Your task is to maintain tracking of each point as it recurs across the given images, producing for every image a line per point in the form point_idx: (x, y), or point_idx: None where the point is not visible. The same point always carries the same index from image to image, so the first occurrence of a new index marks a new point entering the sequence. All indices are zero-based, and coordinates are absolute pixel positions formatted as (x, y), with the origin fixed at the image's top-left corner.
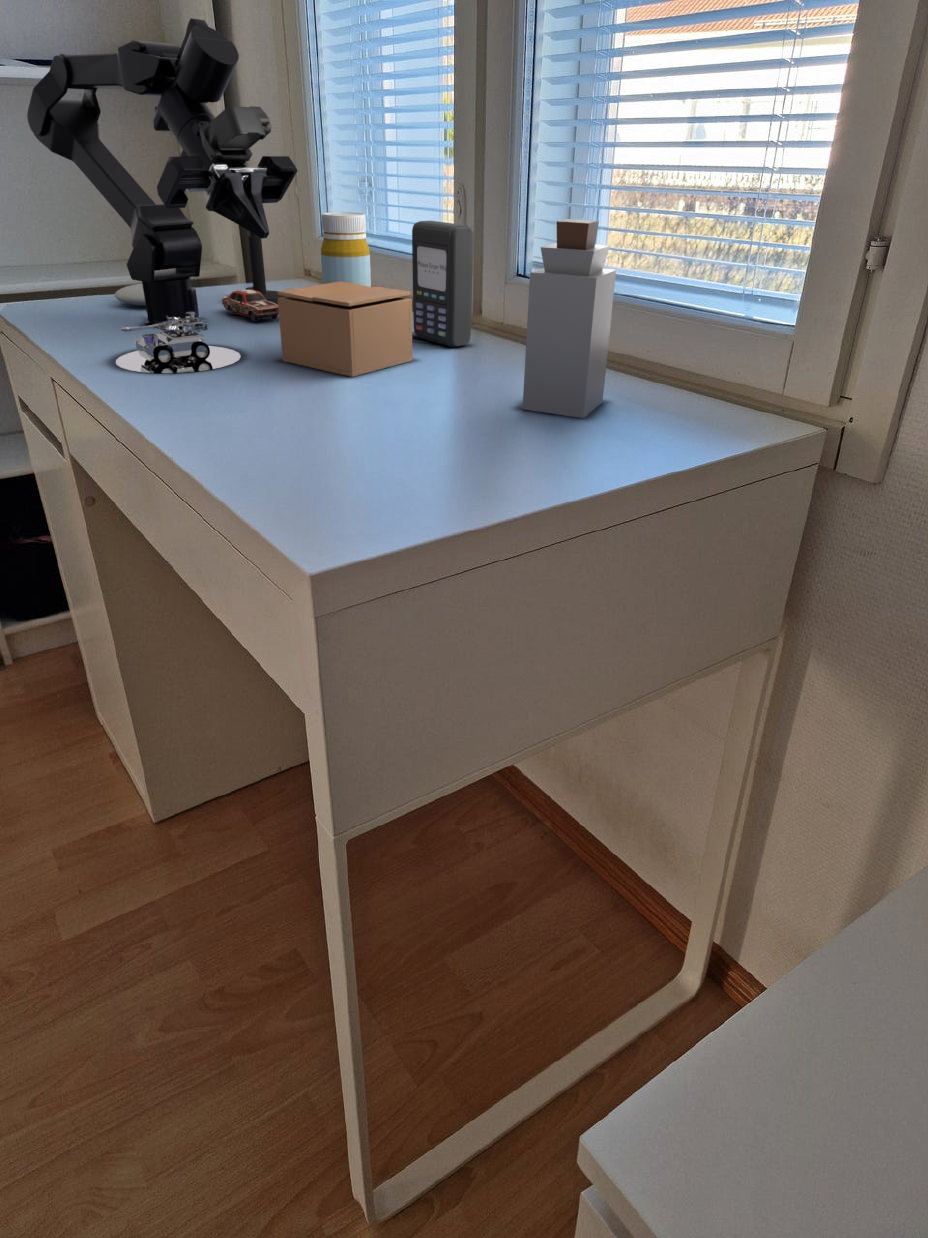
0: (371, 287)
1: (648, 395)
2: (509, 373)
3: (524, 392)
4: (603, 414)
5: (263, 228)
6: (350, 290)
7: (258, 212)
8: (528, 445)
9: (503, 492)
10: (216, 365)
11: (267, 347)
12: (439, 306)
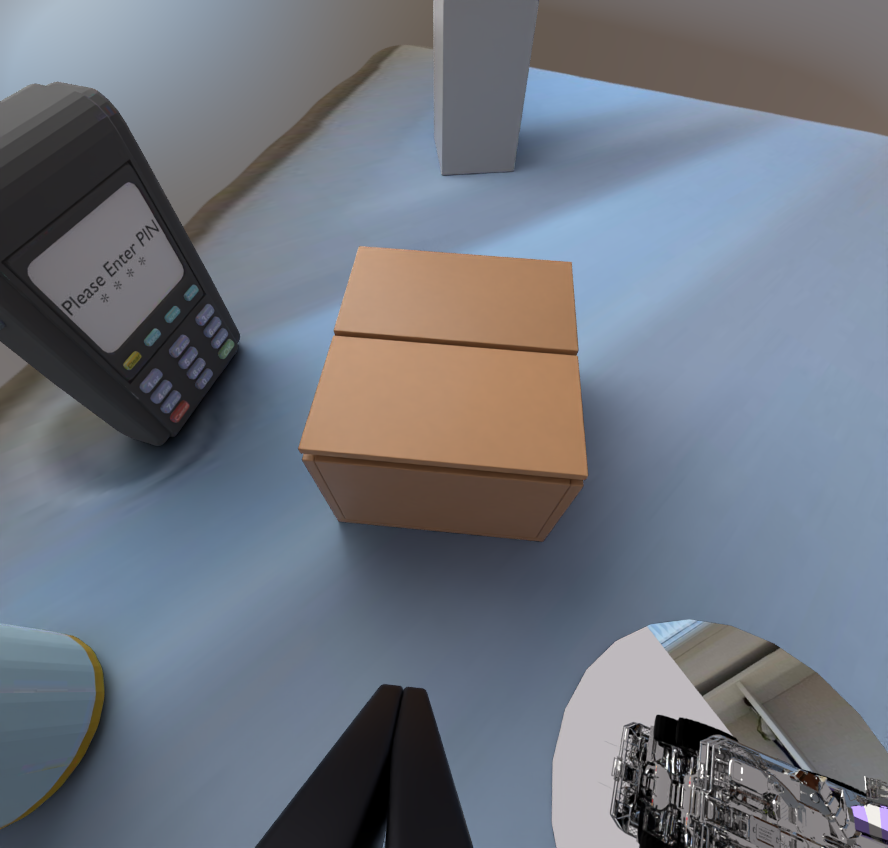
0: (358, 327)
1: (378, 121)
2: (368, 228)
3: (516, 150)
4: None
5: (417, 706)
6: (419, 349)
7: (360, 827)
8: (608, 139)
9: (712, 121)
10: (692, 644)
11: (457, 696)
12: (194, 316)
